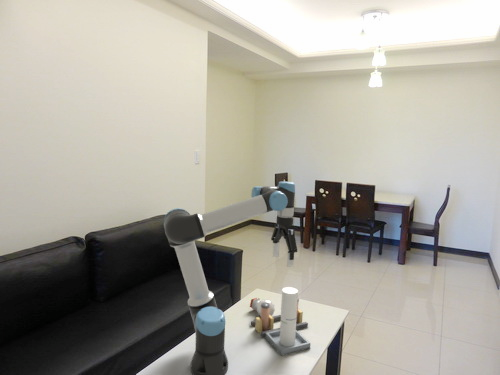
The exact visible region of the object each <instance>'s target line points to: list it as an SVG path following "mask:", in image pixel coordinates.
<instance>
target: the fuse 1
mask: <svg viewBox="0 0 500 375" xmlns="http://www.w3.org/2000/svg"><path fill="white" fill-rule="evenodd" d="M269 307H270V304H269V303H262V304H261V316H260V319H261V320H262V332H264V331H268V330H269V328H268V327H269Z"/></svg>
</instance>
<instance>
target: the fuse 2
mask: <svg viewBox="0 0 500 375" xmlns="http://www.w3.org/2000/svg"><path fill="white" fill-rule="evenodd" d="M299 300H300V298H298V299H297V317H296V324H298V322H297V320H298V309H299V302H300V301H299Z"/></svg>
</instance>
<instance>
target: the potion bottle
mask: <svg viewBox="0 0 500 375" xmlns="http://www.w3.org/2000/svg"><path fill="white" fill-rule="evenodd" d="M262 303H269V304H270V307H269V315H271V316H272V317H273V315H274V313H275V311H276V310H275V309H276V308H275V304H274V303H273V301H271V300H270V299H267V298H266V299H260V298H259V297H255V298H252V299H251V300H250V304H249V307H250V308H251V309H253V310H254V311H257V313H258V315H259V317H261V304H262Z"/></svg>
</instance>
